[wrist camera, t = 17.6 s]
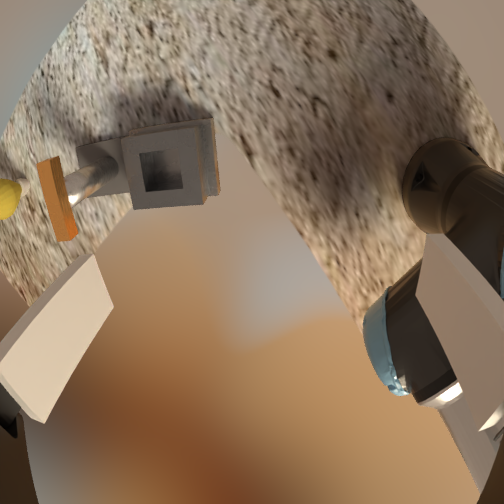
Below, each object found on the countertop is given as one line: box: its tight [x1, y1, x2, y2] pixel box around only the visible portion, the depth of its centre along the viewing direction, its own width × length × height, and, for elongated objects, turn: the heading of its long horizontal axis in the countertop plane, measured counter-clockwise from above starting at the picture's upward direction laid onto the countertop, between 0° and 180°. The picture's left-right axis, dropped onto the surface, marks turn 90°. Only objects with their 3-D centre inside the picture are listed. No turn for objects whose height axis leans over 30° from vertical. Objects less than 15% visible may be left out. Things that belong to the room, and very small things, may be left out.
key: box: [36, 156, 119, 242], centre depth 32 cm, size 9×4×14 cm, turn 5°
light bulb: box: [0, 178, 30, 220], centre depth 36 cm, size 7×7×10 cm
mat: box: [76, 136, 130, 198], centre depth 38 cm, size 10×8×1 cm
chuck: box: [121, 118, 220, 210], centre depth 35 cm, size 11×10×6 cm
